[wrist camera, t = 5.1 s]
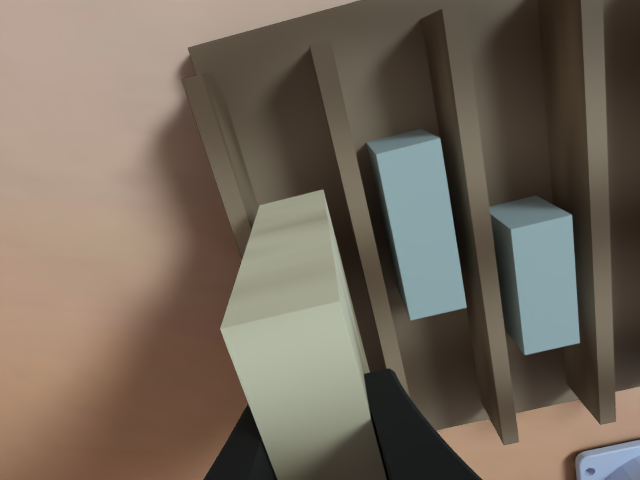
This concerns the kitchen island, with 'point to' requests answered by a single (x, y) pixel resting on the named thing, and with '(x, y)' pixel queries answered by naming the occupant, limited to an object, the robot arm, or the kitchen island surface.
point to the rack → (450, 174)
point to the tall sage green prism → (302, 347)
